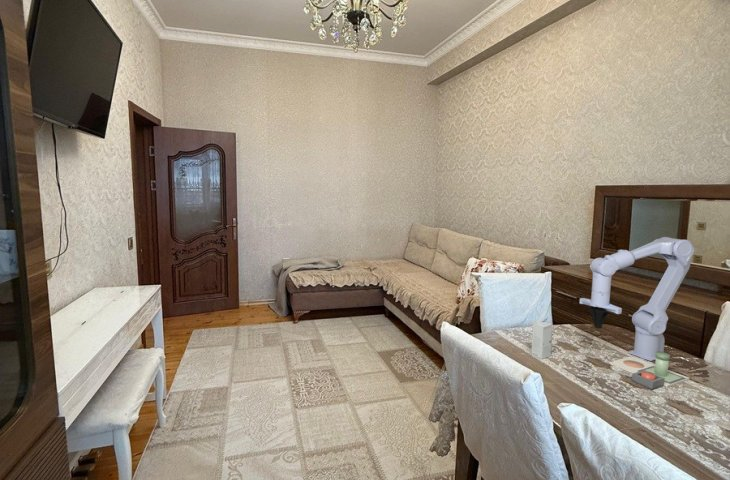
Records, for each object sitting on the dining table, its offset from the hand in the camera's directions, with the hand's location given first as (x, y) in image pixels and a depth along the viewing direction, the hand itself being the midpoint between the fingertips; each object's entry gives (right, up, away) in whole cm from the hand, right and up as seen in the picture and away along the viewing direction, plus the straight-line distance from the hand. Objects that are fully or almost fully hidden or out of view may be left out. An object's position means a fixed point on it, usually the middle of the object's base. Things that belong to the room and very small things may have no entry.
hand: (598, 327), depth 141 cm
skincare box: (-21, -11, +1) cm, 23 cm away
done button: (+3, -12, -20) cm, 24 cm away
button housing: (+3, -13, -20) cm, 24 cm away
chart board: (+9, -12, -12) cm, 19 cm away
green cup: (+11, -12, -16) cm, 22 cm away
